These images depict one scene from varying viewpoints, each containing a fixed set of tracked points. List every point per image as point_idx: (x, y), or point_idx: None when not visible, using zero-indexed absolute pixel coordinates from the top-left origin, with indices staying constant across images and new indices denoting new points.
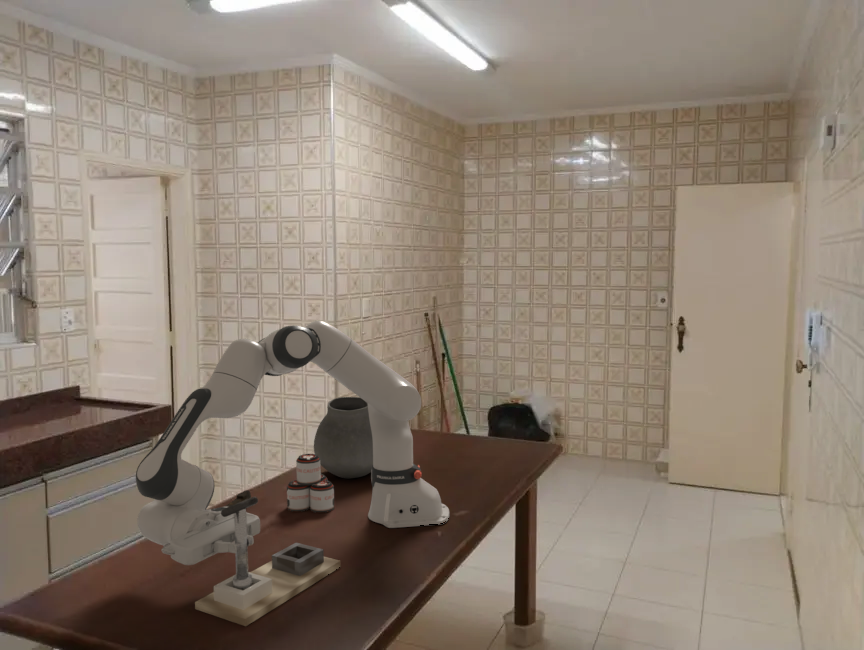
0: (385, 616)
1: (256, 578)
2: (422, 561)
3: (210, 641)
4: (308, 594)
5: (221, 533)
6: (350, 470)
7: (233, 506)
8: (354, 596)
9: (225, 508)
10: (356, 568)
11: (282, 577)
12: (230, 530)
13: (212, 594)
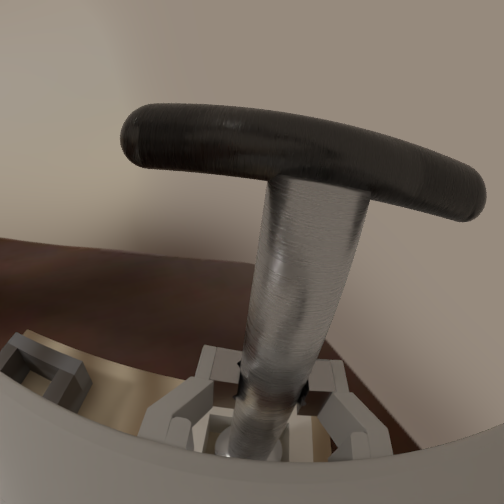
0: (193, 261)
1: (204, 432)
2: (39, 257)
3: (392, 419)
4: (148, 362)
5: (324, 477)
6: None
7: (404, 144)
8: (143, 298)
9: (463, 164)
10: (41, 316)
11: (104, 420)
12: (234, 463)
13: None
